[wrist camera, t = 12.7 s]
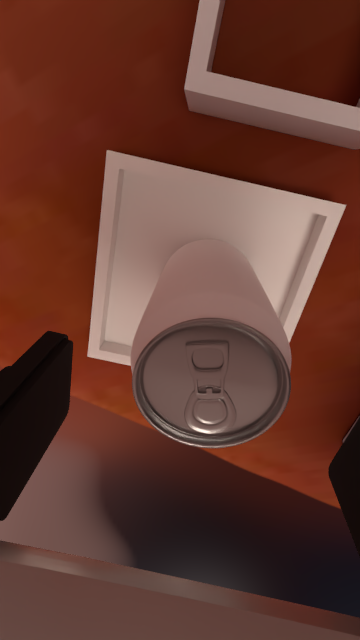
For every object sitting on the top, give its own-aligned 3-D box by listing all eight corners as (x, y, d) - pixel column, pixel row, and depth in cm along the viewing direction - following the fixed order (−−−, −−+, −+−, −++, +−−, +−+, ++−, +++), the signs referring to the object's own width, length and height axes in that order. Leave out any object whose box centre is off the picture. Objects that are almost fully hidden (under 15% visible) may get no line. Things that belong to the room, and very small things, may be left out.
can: (165, 327, 24) (132, 456, 13) (156, 240, 21) (105, 310, 10) (252, 323, 23) (296, 457, 12) (255, 234, 20) (313, 302, 9)
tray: (115, 152, 19) (106, 149, 18) (333, 202, 20) (346, 205, 18) (95, 343, 25) (87, 356, 24) (262, 379, 26) (267, 395, 24)
